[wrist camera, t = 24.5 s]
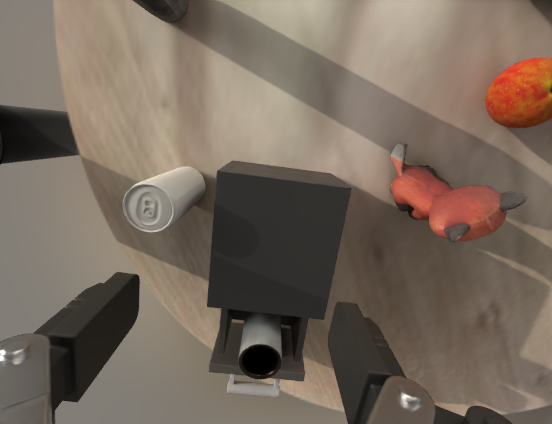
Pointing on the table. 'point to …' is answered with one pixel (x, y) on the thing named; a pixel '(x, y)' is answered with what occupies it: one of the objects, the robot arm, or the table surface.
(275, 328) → the grey hollow cylinder
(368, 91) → the table surface
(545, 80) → the fruit
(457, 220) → the stuffed fox
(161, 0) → the beverage cup
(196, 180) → the beverage can
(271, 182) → the cabinet
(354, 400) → the robot arm
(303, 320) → the drawer
